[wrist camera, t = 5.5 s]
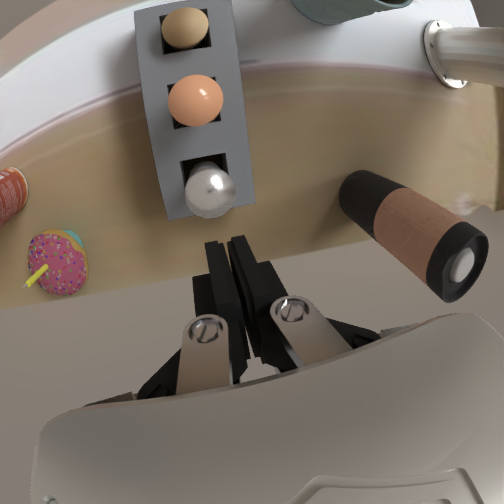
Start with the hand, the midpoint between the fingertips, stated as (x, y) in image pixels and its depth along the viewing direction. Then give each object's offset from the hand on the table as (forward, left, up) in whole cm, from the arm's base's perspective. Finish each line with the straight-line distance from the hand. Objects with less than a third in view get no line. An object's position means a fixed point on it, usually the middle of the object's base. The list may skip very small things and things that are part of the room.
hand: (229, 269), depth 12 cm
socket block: (0, -7, -21) cm, 22 cm away
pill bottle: (+25, -4, -21) cm, 33 cm away
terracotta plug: (0, -7, -17) cm, 18 cm away
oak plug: (0, -15, -20) cm, 25 cm away
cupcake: (+19, +6, -21) cm, 29 cm away
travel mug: (-21, +7, -21) cm, 30 cm away
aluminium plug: (0, 0, -17) cm, 17 cm away
